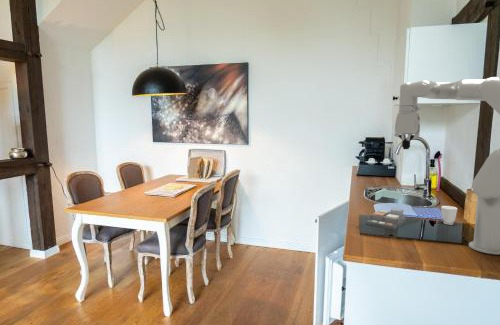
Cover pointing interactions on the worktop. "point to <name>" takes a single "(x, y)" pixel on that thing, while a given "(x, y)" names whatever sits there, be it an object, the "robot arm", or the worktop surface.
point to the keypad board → (386, 222)
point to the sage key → (384, 211)
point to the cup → (448, 214)
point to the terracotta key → (379, 214)
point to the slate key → (397, 212)
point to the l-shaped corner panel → (388, 194)
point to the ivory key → (392, 216)
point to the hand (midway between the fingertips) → (405, 149)
